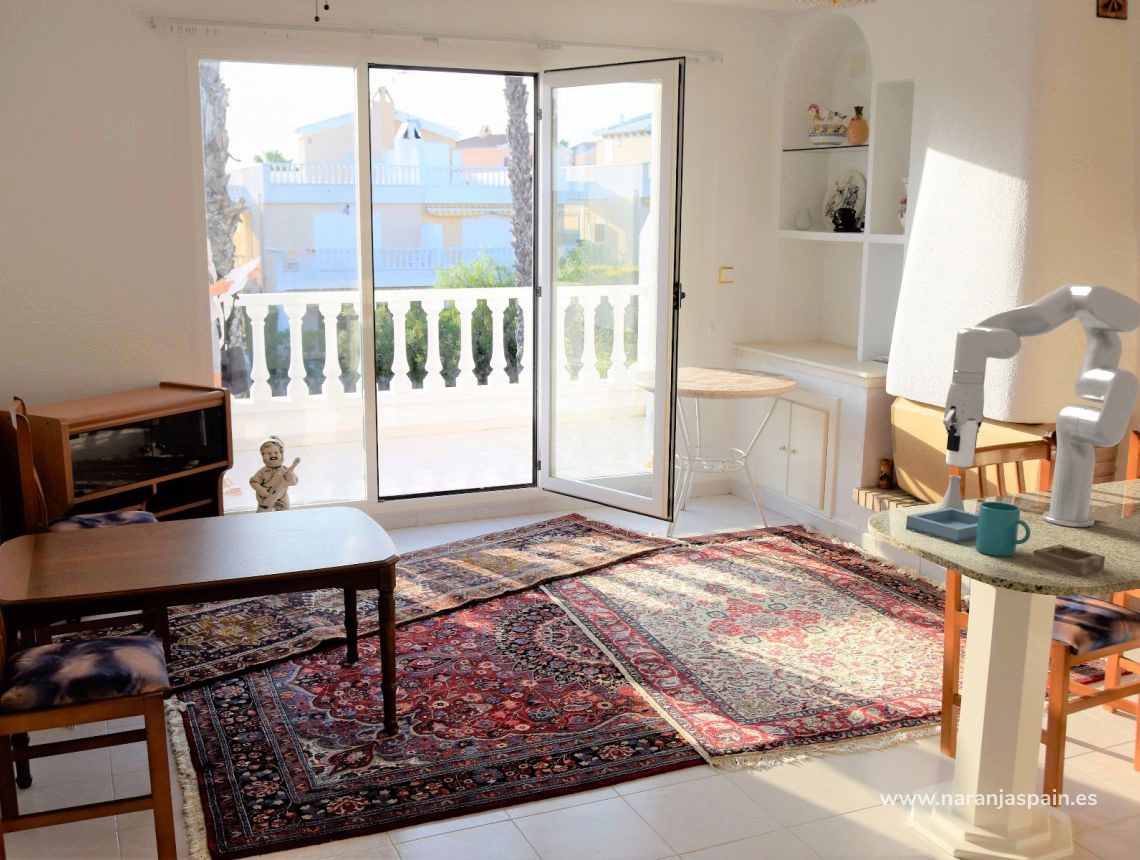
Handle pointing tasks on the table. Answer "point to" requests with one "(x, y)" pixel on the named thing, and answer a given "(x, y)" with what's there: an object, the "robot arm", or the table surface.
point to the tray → (945, 524)
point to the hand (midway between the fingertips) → (961, 448)
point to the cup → (999, 529)
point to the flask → (953, 495)
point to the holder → (1068, 560)
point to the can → (964, 446)
